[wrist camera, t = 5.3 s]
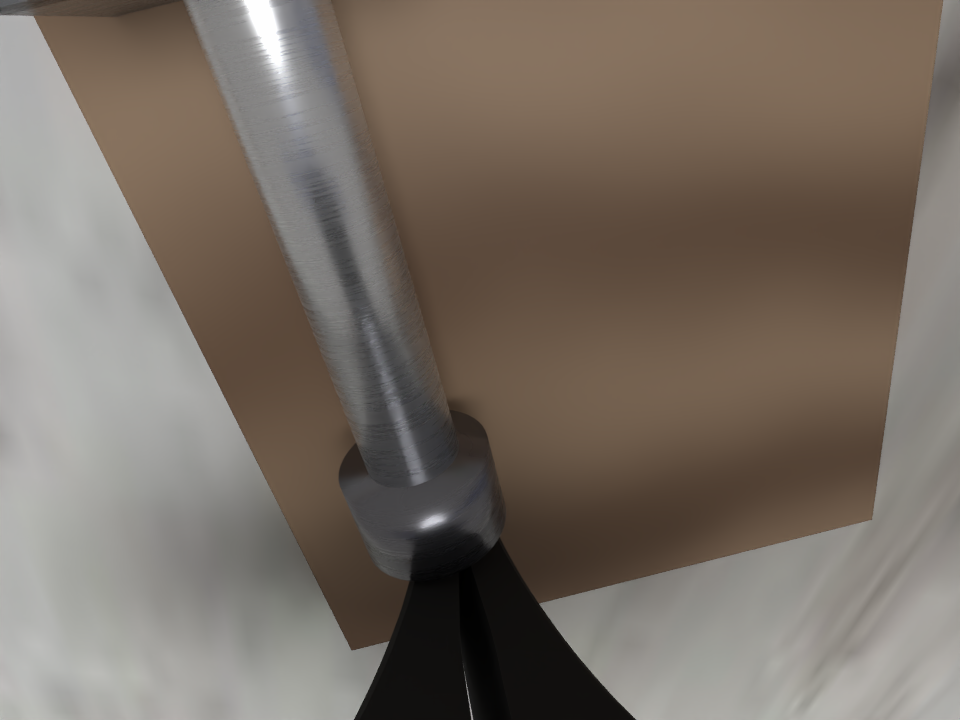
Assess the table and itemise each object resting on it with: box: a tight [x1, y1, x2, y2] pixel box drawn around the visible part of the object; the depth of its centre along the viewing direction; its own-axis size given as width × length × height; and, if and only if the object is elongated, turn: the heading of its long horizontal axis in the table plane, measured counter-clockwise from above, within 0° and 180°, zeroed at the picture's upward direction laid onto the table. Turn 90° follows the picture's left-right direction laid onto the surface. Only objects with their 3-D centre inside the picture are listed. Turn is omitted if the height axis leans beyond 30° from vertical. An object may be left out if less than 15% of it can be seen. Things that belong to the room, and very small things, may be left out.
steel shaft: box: [183, 0, 506, 581], centre depth 8 cm, size 16×3×3 cm, turn 12°
